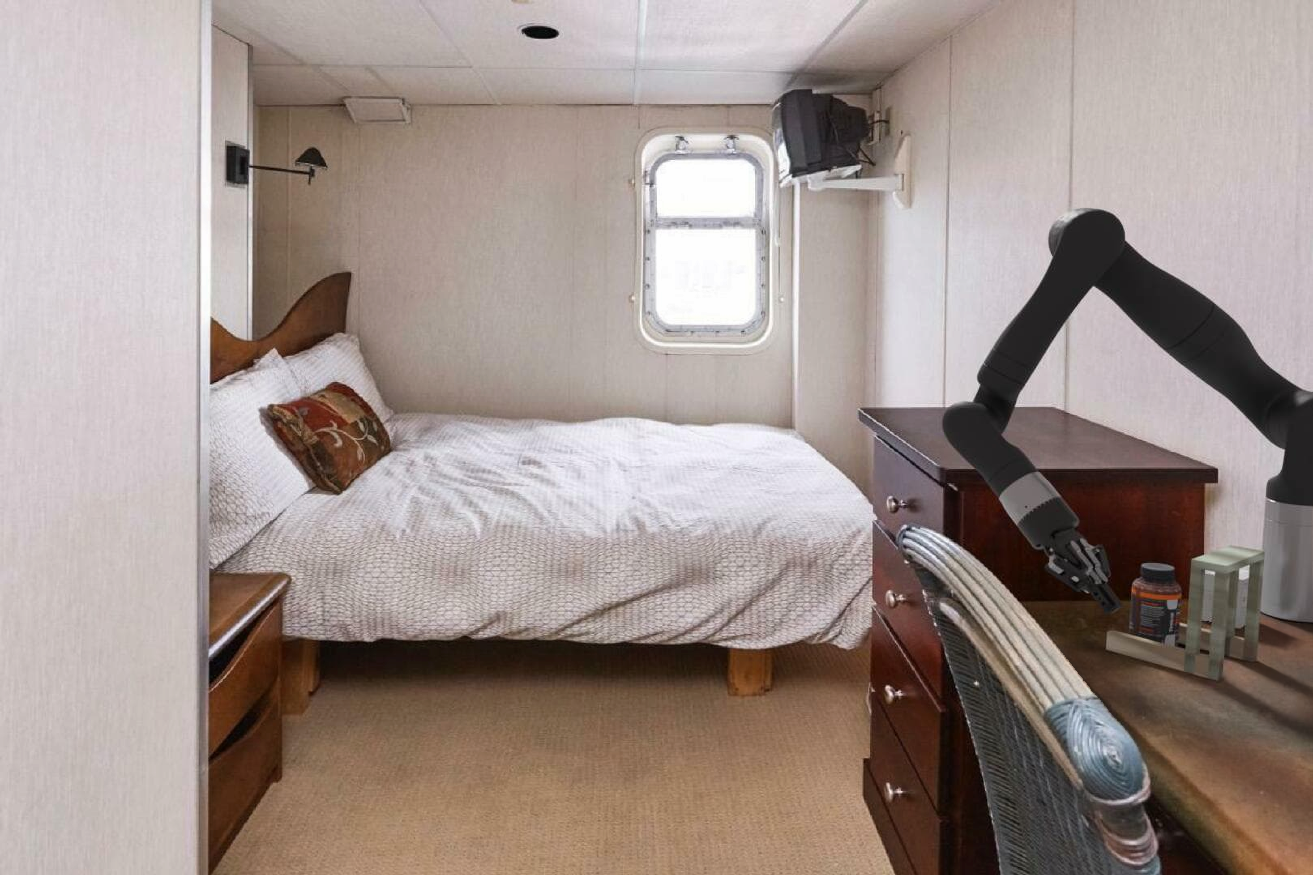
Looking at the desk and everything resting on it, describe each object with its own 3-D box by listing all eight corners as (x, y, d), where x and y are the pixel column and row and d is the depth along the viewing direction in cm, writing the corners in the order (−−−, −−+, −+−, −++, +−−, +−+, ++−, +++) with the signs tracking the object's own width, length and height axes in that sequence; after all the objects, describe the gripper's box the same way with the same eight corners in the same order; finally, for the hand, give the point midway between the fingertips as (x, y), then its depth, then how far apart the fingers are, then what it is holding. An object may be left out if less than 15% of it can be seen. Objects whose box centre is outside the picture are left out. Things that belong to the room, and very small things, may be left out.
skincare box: (1240, 629, 134) (1243, 579, 133) (1194, 619, 139) (1197, 570, 138) (1256, 621, 138) (1260, 572, 137) (1211, 611, 143) (1214, 563, 142)
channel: (1147, 632, 133) (1153, 531, 132) (1256, 660, 122) (1265, 551, 121) (1106, 649, 127) (1111, 544, 125) (1218, 681, 116) (1226, 565, 114)
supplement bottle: (1184, 656, 124) (1190, 573, 122) (1135, 654, 125) (1140, 571, 124) (1169, 641, 130) (1174, 561, 128) (1123, 638, 131) (1127, 559, 129)
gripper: (1030, 500, 133) (1111, 605, 125) (1079, 489, 141) (1159, 587, 133) (995, 531, 138) (1071, 633, 130) (1045, 518, 146) (1119, 614, 137)
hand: (1115, 610), depth 131 cm, fingers closed
